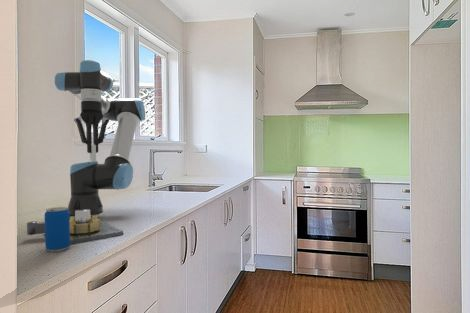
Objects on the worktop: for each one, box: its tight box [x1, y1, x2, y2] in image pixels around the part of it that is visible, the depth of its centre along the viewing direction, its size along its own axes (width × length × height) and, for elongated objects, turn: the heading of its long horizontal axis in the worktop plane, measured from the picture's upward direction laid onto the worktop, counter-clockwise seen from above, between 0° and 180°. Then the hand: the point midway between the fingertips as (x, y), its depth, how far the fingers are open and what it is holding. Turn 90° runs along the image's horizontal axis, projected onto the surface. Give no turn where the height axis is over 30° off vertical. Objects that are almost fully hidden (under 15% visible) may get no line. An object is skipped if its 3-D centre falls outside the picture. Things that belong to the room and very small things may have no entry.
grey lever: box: [26, 214, 102, 236], centre depth 118 cm, size 22×11×4 cm, turn 109°
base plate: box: [70, 209, 124, 245], centre depth 120 cm, size 20×20×8 cm
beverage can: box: [44, 206, 71, 253], centre depth 103 cm, size 6×6×12 cm
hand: (93, 161), depth 138 cm, fingers closed
